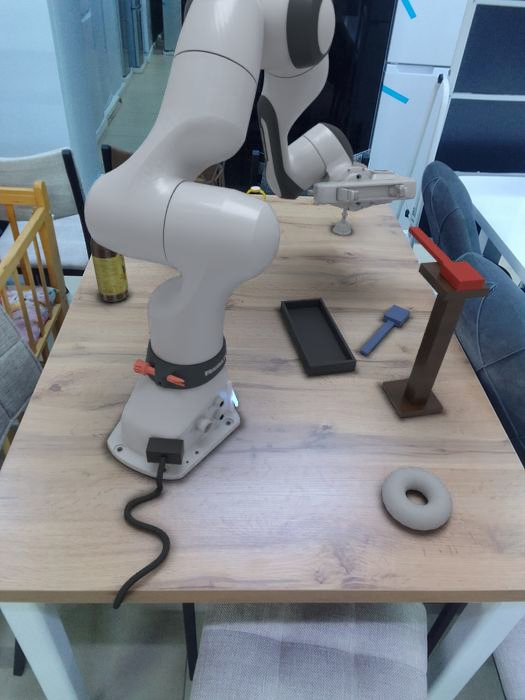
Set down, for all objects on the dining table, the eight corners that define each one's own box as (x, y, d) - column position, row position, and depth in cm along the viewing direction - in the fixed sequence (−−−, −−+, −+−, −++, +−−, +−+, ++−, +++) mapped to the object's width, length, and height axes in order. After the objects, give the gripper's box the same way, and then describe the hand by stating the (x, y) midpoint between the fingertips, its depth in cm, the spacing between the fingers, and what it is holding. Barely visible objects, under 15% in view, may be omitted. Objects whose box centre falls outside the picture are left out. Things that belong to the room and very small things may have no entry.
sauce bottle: (133, 298, 110) (122, 212, 97) (105, 306, 107) (90, 219, 94) (122, 284, 114) (110, 200, 101) (95, 291, 111) (79, 206, 98)
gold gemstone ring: (265, 206, 150) (266, 187, 146) (264, 210, 147) (266, 190, 144) (245, 204, 150) (246, 185, 146) (244, 208, 148) (245, 189, 144)
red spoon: (481, 289, 72) (485, 279, 71) (456, 291, 71) (460, 281, 70) (423, 230, 85) (425, 221, 84) (401, 231, 84) (403, 222, 83)
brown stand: (381, 386, 93) (417, 263, 76) (420, 381, 95) (464, 259, 78) (400, 418, 87) (443, 292, 70) (441, 412, 89) (493, 287, 72)
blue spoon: (392, 310, 112) (393, 304, 111) (408, 317, 110) (410, 311, 109) (354, 350, 100) (355, 344, 99) (372, 358, 99) (373, 352, 98)
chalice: (326, 233, 139) (336, 168, 127) (331, 223, 144) (341, 159, 132) (352, 238, 137) (365, 172, 126) (356, 227, 142) (369, 164, 131)
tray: (354, 370, 96) (356, 361, 94) (308, 376, 94) (310, 366, 92) (319, 306, 111) (321, 297, 110) (279, 310, 109) (280, 301, 108)
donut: (457, 535, 71) (436, 475, 78) (465, 522, 68) (443, 461, 76) (387, 535, 70) (373, 474, 78) (393, 522, 68) (378, 461, 75)
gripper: (304, 175, 102) (325, 179, 90) (398, 170, 106) (431, 173, 93) (304, 207, 105) (325, 215, 92) (396, 201, 108) (428, 208, 95)
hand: (379, 194), depth 93 cm, fingers open, 8 cm apart
